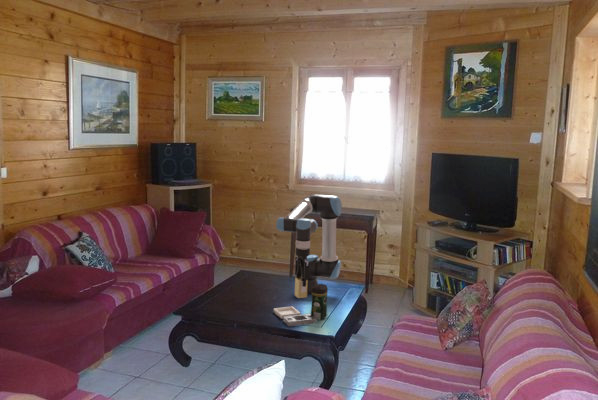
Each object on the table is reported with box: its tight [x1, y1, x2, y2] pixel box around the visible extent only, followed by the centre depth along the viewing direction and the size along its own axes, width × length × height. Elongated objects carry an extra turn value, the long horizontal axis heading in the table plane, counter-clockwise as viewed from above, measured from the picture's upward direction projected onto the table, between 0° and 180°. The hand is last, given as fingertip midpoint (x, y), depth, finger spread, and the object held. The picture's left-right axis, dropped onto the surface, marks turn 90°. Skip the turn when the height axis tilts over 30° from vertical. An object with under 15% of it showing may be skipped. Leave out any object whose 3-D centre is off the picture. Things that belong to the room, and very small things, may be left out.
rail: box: [282, 313, 317, 327], centre depth 279 cm, size 16×8×2 cm, turn 114°
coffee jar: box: [310, 283, 328, 321], centre depth 286 cm, size 10×8×19 cm
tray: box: [273, 305, 302, 320], centre depth 290 cm, size 12×12×2 cm
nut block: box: [294, 276, 308, 299], centre depth 277 cm, size 5×5×10 cm
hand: (301, 290), depth 277 cm, fingers closed on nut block, 5 cm apart
